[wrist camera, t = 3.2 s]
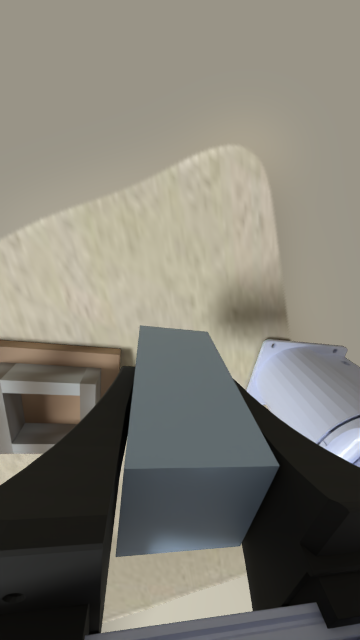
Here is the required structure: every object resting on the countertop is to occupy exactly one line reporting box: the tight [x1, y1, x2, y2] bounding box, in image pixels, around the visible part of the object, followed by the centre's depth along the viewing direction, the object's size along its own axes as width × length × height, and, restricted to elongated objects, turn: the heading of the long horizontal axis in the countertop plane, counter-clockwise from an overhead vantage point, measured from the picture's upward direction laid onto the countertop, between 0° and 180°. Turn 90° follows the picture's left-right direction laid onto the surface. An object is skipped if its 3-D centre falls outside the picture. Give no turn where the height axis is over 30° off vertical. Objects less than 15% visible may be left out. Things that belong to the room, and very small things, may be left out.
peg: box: [116, 326, 279, 557], centre depth 10 cm, size 4×4×8 cm
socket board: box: [0, 340, 121, 454], centre depth 20 cm, size 11×11×3 cm
